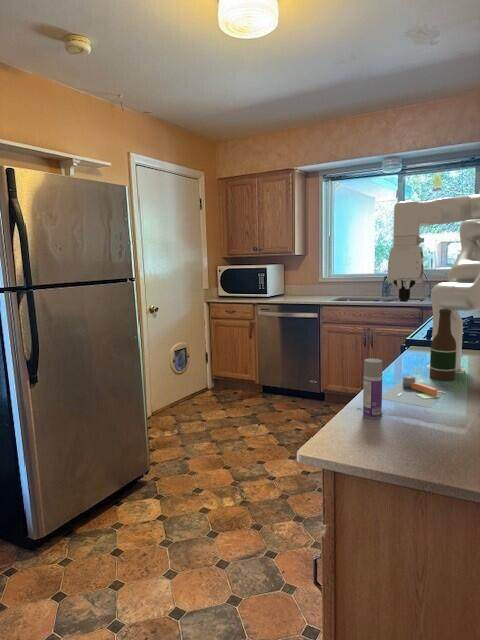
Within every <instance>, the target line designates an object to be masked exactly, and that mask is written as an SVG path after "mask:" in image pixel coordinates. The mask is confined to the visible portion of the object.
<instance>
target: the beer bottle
mask: <svg viewBox="0 0 480 640" xmlns="http://www.w3.org/2000/svg"><path fill="white" fill-rule="evenodd" d="M439 313H440V317H439V326H438V332H437V335H436V336H435V337H434V338H433V341H432V340H431V343H430V344H431V345H430V360H429V364H430V369H429V378H430V379H432V380H435V381H440V382H441V381H442V382H452V381H454V380H455V378H456V373H455V368H456V341H455V338H454V337H453V335H452V334H451V316H450V313H451V310H450V309H440V310H439Z"/></svg>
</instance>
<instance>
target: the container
mask: <svg viewBox="0 0 480 640" xmlns="http://www.w3.org/2000/svg"><path fill="white" fill-rule="evenodd" d="M363 364H364V365H363V385H362V386H363V387H362V389H363V391H362V393H363V394H362V395H363V398H362V404H363V405H362V416H363V417H365V418H367V419H371V420H372V419H373V420H377V419H380V418H382V403H383V402H382V401H383V399H382V395H383V360H382V359H379V358H373V357H371V358H365V359H364V362H363Z"/></svg>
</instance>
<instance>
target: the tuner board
mask: <svg viewBox="0 0 480 640" xmlns="http://www.w3.org/2000/svg"><path fill="white" fill-rule="evenodd" d="M417 382H418V383H421V384H424V385H427V386H430V387H433V388H436V389H437V395H435V396H432V395H430V394H427V393H424V392H421V391H418V390H416V389H413V388H406V387H403V379H401V380H400V381H399V382H398V383H396V384H395V385H394V386H393V387H391V388H390V389H389V390H387V391H386V392H385V393H384V394H382V400H384V401H392V402H395V403H402V404H407V405H412V406H418V407H424V408H432V406H434V405H435V404H436V402H437V401H438V400H439V399H440V398H441V397H442V396H443V394H446V393H447V390H448V389H449V388H450V386H448V385H447V386H446V385H440V384H433V383H428V382H420V381H417Z"/></svg>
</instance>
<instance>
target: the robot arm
mask: <svg viewBox="0 0 480 640" xmlns="http://www.w3.org/2000/svg"><path fill="white" fill-rule="evenodd" d="M459 222H461V224H460V225H459V239H460V245H461V247H460V248H461V250H460V252H459V254H458V256H457V258H456V259H455V261H454V262H453V264H452V266H451V267H450V269H449V272H448V274H447V280H448V281H446V282H445V281H444V282H439V283H437V284H436V285H434V286H433V287H432V289H431V293H430V301H431V307H432V332H431V333H432V338H431V339H432V340H431V342H432V341H433V338H434V337H435V336H436V335H437V332H438V326H439V317H440V313H439V310H440V309H450V310H451V313H450V316H451V334H452V335H453V337H454V338H455V341H456V368H455V374H462V375H463V374H465V373H466V368H465V366H464V367H463V366H462V350H463V349H462V347H463V331H464V330H463V328H464V326H463V325H464V324H463V323H464V322H463V319H462V316H461V315H460V313H459V312H460V311H462V312H471V313H473V312H479V311H480V193H477V194H476V193H475V194H469V195H460V196H449V197H442V198H441V197H440V198H438V199H432V200H427V201H417V200H405V201H399V202H396V203H395V204H394V207H393V232H392V233H393V235H392V236H393V239H392V241H393V242H392V247H391V248H390V251H389V256H388V262H387V280H386V281H387V283H390V284H393V285H395V286H396V287H397V289H398V299H399V300H400V301H399V302H403V303H405V302H408V301H409V300H410V299H411V289H412V288H413V287H414V286H415V285H416V284H420V283H421V284H422V283H423V282H424V278H423V277H424V276H425V267H424V266H425V265H424V260H425V259H424V252H423V246H420V245H421V244H422V243H425V238H424V237H421V236H420V227H429V226H430V227H431V226H434V225H445V224H446V225H447V224H451V223H454V224H455V223H459ZM404 280H405V281H406V282H404ZM425 369H427V370H430V363H429V364H427V365H426V367H425Z"/></svg>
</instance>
